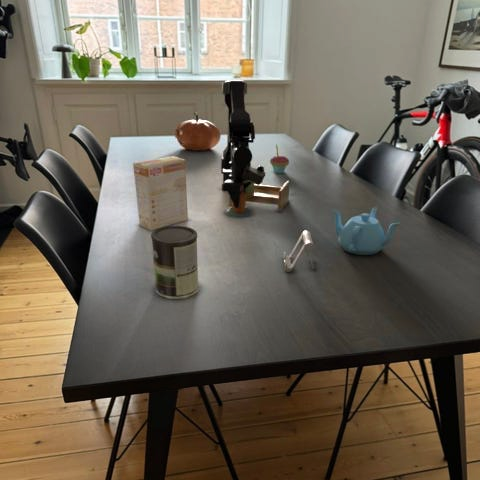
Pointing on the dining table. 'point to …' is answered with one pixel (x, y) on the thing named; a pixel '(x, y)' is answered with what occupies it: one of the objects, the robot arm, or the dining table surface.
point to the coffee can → (175, 261)
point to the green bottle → (250, 188)
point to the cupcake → (279, 162)
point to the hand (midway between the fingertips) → (238, 205)
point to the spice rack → (269, 195)
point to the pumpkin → (197, 134)
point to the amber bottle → (241, 203)
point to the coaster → (236, 214)
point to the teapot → (363, 233)
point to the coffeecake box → (161, 192)
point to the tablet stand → (306, 246)
